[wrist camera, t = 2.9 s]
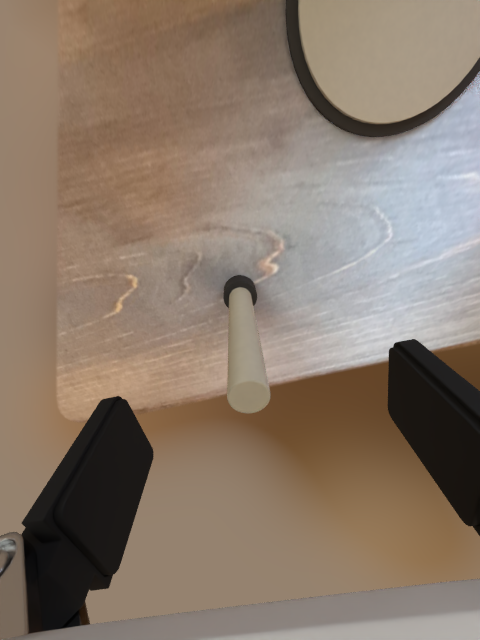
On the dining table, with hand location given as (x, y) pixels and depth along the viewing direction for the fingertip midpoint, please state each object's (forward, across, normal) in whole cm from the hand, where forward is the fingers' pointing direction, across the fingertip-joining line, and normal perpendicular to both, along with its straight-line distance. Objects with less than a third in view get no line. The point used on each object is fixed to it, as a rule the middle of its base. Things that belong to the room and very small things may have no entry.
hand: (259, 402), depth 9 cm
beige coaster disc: (+12, -11, -14) cm, 22 cm away
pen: (+12, 0, 0) cm, 12 cm away
